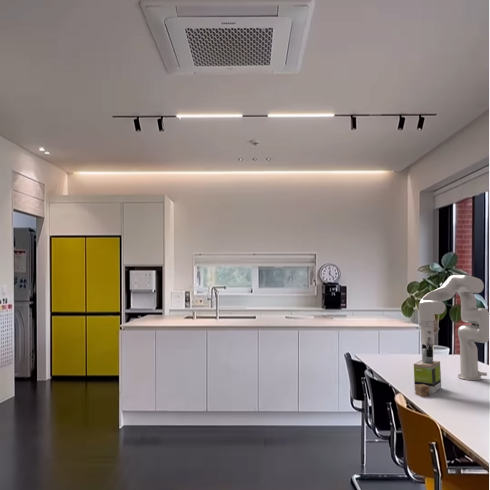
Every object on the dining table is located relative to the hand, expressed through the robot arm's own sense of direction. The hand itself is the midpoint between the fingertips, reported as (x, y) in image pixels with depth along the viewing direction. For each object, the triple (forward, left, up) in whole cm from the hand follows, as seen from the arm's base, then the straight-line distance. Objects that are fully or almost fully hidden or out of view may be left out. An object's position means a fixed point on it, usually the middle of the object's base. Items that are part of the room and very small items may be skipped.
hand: (427, 355), depth 252 cm
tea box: (0, 0, -19) cm, 19 cm away
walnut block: (+6, +12, -18) cm, 23 cm away
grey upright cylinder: (0, 0, -4) cm, 4 cm away
